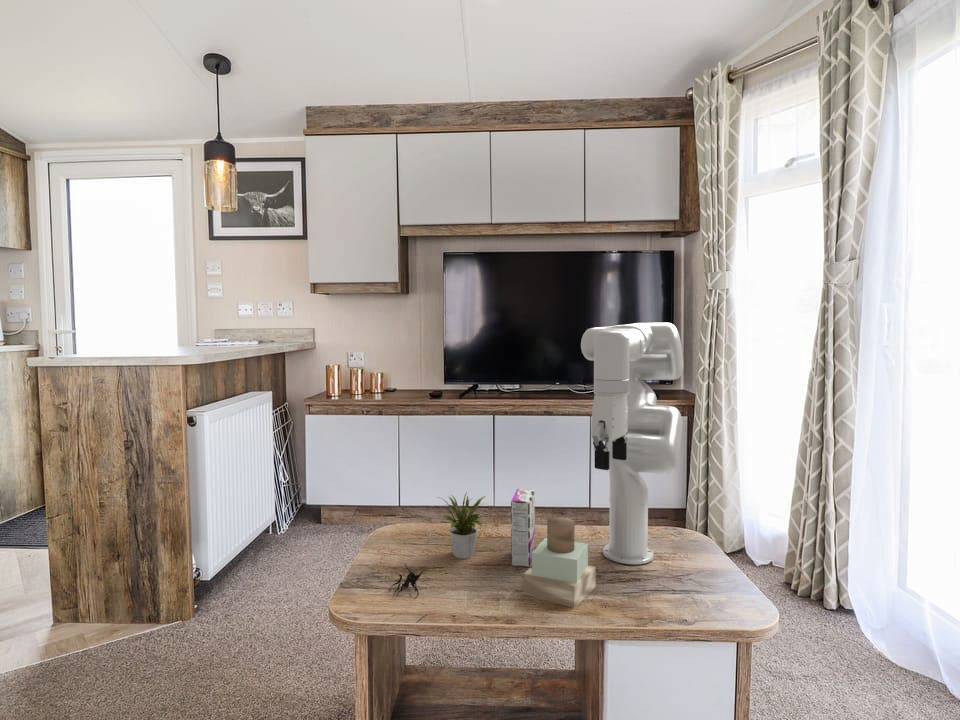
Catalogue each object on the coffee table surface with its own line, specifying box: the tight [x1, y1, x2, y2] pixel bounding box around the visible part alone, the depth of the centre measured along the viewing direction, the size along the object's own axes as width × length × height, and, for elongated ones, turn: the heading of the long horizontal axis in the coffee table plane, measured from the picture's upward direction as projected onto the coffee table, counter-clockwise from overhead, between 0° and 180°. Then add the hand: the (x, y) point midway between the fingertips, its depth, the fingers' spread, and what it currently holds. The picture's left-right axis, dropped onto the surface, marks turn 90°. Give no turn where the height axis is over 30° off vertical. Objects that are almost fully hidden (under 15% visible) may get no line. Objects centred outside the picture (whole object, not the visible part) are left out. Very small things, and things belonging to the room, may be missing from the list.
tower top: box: [531, 537, 589, 583], centre depth 128 cm, size 10×10×5 cm
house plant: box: [437, 491, 486, 559], centre depth 148 cm, size 14×14×16 cm
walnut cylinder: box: [546, 516, 576, 553], centre depth 127 cm, size 6×6×6 cm
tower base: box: [523, 564, 597, 609], centre depth 128 cm, size 12×12×5 cm
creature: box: [388, 563, 426, 600], centre depth 127 cm, size 8×5×8 cm
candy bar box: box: [510, 488, 536, 568], centre depth 146 cm, size 11×5×16 cm, turn 168°
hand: (610, 464), depth 127 cm, fingers open, 9 cm apart
